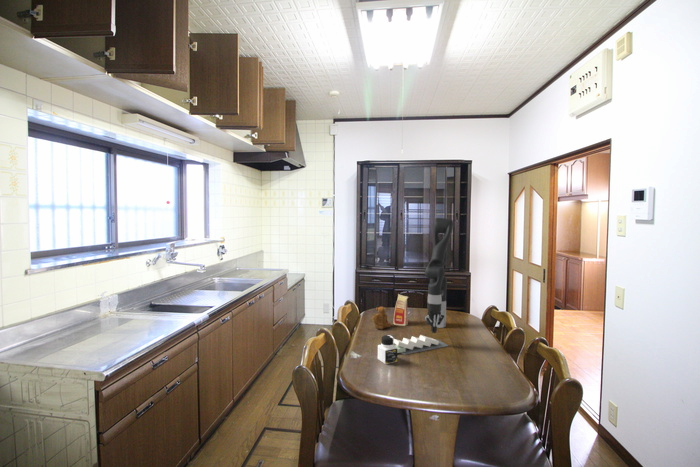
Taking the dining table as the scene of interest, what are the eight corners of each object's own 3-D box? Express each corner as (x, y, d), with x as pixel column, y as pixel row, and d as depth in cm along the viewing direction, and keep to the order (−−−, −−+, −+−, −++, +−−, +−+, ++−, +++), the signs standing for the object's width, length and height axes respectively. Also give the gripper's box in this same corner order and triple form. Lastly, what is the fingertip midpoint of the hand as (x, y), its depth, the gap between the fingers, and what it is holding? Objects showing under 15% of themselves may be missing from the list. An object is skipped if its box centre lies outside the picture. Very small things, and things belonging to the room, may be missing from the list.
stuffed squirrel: (391, 325, 207) (391, 306, 207) (384, 332, 195) (384, 311, 194) (377, 323, 212) (377, 304, 211) (369, 329, 199) (369, 309, 199)
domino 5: (438, 345, 173) (424, 341, 169) (432, 342, 178) (419, 338, 174) (439, 341, 173) (425, 337, 169) (433, 338, 178) (420, 334, 174)
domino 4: (430, 346, 171) (416, 342, 167) (424, 343, 175) (410, 339, 171) (431, 343, 171) (417, 339, 167) (425, 340, 176) (411, 336, 172)
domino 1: (412, 349, 166) (397, 345, 162) (407, 346, 170) (392, 342, 167) (413, 346, 166) (399, 341, 162) (408, 342, 171) (394, 338, 167)
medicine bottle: (385, 364, 150) (385, 340, 149) (377, 358, 156) (377, 335, 156) (397, 361, 153) (397, 337, 152) (389, 356, 159) (389, 333, 159)
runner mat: (393, 347, 170) (393, 347, 170) (436, 339, 182) (437, 339, 182) (403, 355, 161) (403, 354, 161) (448, 346, 173) (448, 345, 173)
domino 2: (400, 344, 169) (384, 347, 165) (405, 347, 164) (389, 350, 160) (400, 348, 169) (384, 351, 165) (405, 351, 164) (389, 354, 160)
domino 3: (421, 348, 169) (407, 344, 165) (416, 345, 173) (402, 341, 169) (423, 344, 169) (408, 340, 165) (417, 341, 173) (403, 337, 169)
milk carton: (393, 324, 210) (393, 294, 209) (396, 320, 218) (396, 292, 218) (406, 326, 206) (407, 296, 206) (409, 322, 215) (409, 293, 214)
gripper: (439, 299, 180) (438, 328, 181) (420, 301, 175) (420, 332, 175) (448, 302, 173) (447, 333, 174) (429, 304, 168) (428, 336, 169)
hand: (433, 332), depth 175 cm, fingers closed
